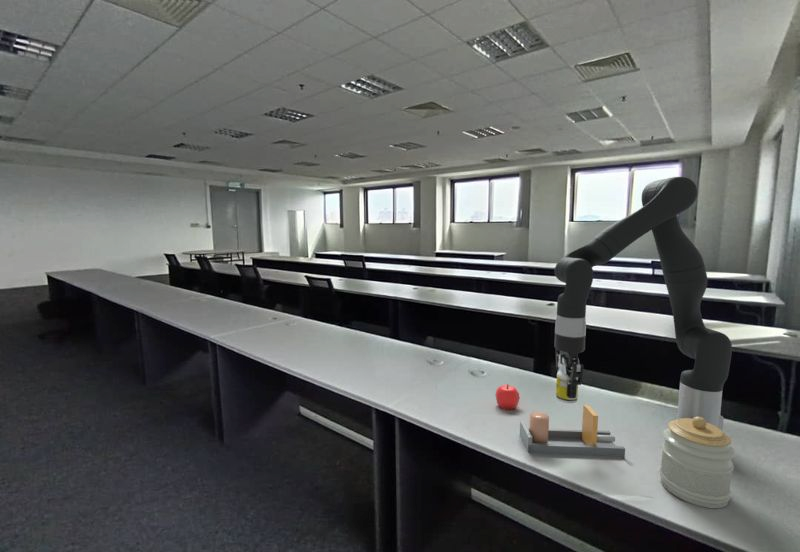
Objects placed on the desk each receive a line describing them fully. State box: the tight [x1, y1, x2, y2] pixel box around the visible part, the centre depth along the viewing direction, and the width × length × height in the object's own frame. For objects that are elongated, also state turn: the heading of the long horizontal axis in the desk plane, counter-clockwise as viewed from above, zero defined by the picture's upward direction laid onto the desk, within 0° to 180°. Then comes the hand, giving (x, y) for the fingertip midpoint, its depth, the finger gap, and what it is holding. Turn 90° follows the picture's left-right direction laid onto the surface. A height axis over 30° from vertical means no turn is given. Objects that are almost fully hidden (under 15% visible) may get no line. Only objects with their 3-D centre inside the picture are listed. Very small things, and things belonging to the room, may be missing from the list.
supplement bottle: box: [555, 363, 579, 404], centre depth 103 cm, size 5×5×10 cm
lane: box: [519, 420, 626, 460], centre depth 105 cm, size 25×9×5 cm, turn 86°
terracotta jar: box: [528, 411, 550, 444], centre depth 105 cm, size 5×5×8 cm
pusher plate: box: [581, 404, 616, 446], centre depth 104 cm, size 7×6×10 cm
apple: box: [495, 383, 520, 411], centre depth 129 cm, size 8×8×8 cm
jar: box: [659, 417, 736, 509], centre depth 87 cm, size 13×13×18 cm
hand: (567, 392), depth 103 cm, fingers closed on supplement bottle, 5 cm apart
